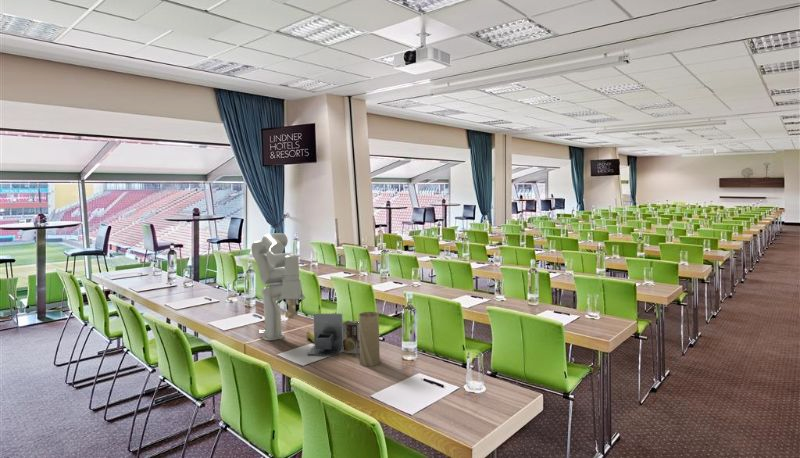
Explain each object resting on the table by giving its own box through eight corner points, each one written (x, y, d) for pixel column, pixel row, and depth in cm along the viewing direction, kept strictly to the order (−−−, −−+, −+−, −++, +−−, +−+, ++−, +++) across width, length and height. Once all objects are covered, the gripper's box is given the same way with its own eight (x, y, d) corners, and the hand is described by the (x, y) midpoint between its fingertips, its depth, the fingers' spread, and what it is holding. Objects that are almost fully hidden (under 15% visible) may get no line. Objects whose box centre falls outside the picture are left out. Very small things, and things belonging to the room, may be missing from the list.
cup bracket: (307, 355, 255) (306, 320, 254) (315, 345, 271) (314, 313, 269) (336, 356, 253) (335, 321, 252) (343, 346, 269) (342, 313, 268)
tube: (366, 367, 237) (365, 318, 235) (356, 361, 245) (355, 314, 243) (383, 363, 243) (382, 314, 240) (372, 357, 251) (371, 310, 249)
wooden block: (288, 318, 259) (287, 293, 258) (290, 316, 263) (290, 291, 262) (295, 318, 259) (294, 293, 257) (297, 316, 263) (297, 291, 261)
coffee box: (362, 350, 262) (362, 321, 261) (358, 354, 256) (357, 324, 255) (347, 348, 265) (347, 320, 264) (342, 352, 259) (341, 323, 258)
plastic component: (315, 340, 274) (306, 329, 280) (313, 350, 277) (305, 339, 284) (344, 330, 286) (335, 320, 293) (342, 340, 290) (333, 330, 296)
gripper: (274, 278, 256) (275, 312, 258) (305, 279, 254) (305, 313, 256) (279, 276, 263) (280, 308, 265) (309, 276, 262) (309, 309, 263)
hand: (292, 310), depth 260 cm, fingers closed on wooden block, 4 cm apart
